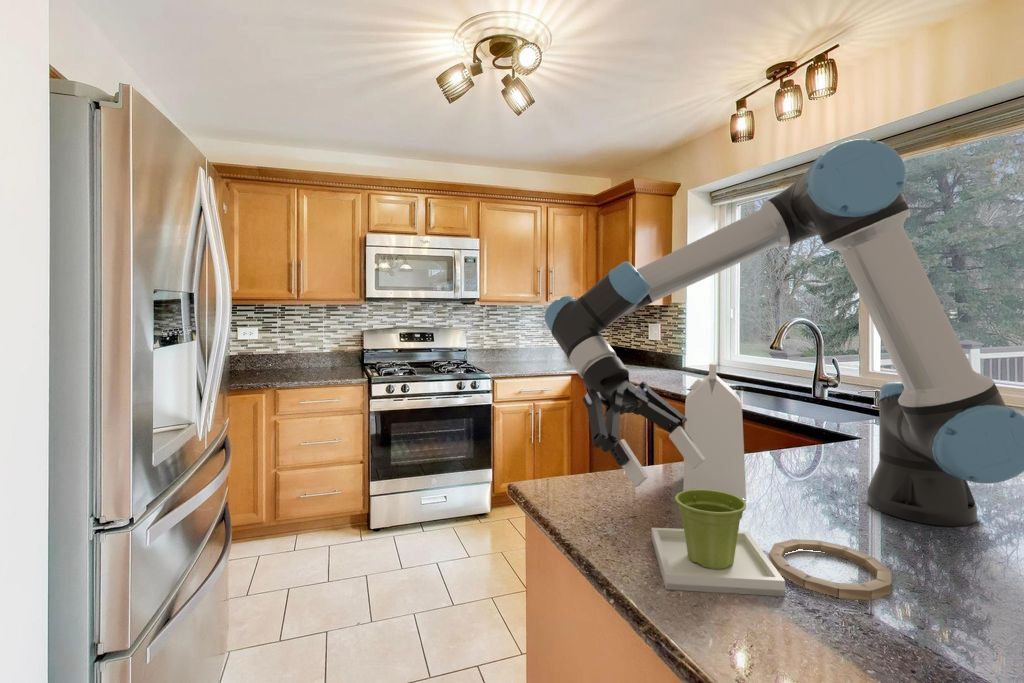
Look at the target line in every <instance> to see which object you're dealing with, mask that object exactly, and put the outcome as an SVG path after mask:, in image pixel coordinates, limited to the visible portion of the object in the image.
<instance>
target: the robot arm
mask: <svg viewBox="0 0 1024 683" xmlns="http://www.w3.org/2000/svg"><path fill="white" fill-rule="evenodd" d="M905 181H906V167H905V163H904V161H903V158H902V156H901V155H900V154H899V152H897V151H896V150H895V149H894V148H893V147H892V146H890V145H888V144H886V143H884V142H882V141H878V140H873V139H868V138H858V139H852V140H851V139H850V140H847V141H844V142H842V143H839V144H837V145H835V146H832V148H830V149H828V151H825V152H824V153H822V154H821V155H819V156H818V157H817V158H816V159H815V160H814V161H813V162H812V163H811V166H810V167H809V168H808V169H807V170H806V171H804V173H803V174H802V175H801V176H800V177H799V178H798V179H797V180H795V181H794V182H793V183H792V184H791V185H790V186H788V187H787V188H786V189H784V190H783V191H781V192H779V193H778V194H776V195H775V196H773V197H771V198H769V199H766V200H765V201H763V202H762V205H761V208H760V209H759V210H757V211H754V212H752V213H750V214H748V215H746V216H744V217H743V218H740V219H738V220H736V221H734V222H732V223H729V224H728V225H726V226H723V227H721V228H719V229H718V230H716V231H712V232H711V233H709V234H707V235H704V236H703V237H701V238H698V239H697V240H695V241H692V242H690V243H688V244H687V245H685V246H683V247H680V248H678V249H677V250H674V251H672V252H670V253H668V254H665V255H664V256H661V257H659V258H658V259H655V260H654V261H652V262H649V263H647V264H645V265H644V266H641V267H640V268H637V269H636V268H635V266H634V265H633V264H632V263H631V262H630V261H623V262H621V263H620V264H618V265H617V266H616V267H614V268H613V269H611V270H609V272H608V273H607V274H606V275H605V276H603V277H602V278H601V279H600V280H598V282H597V283H595V284H593V286H592V287H591V288H590V289H588V290H587V291H586V292H584V294H583V295H581V296H580V297H578V298H577V299H576V298H575V297H574V296H571V295H565V296H561V297H560V299H555V300H554V301H553V302H551V304H549V306H548V307H547V308H546V310H545V313H544V322H545V323H546V325H547V327H548V329H549V331H550V333H551V337H553V338H554V339H555V340H554V341H556V343H557V344H558V346H559V347H560V348H561V350H562V351H563V352H564V354H565V356H566V357H567V359H568V360H569V362H570V363H571V365H572V366H573V369H575V371H576V372H577V374H578V376H579V378H580V379H582V382H583V384H584V385H585V387H586V388H587V392H586V394H585V395H584V397H582V401H583V403H584V404H585V407H586V409H587V410H586V411H587V415H588V421H589V426H590V427H589V428H590V434H591V440H592V444H593V447H595V448H597V449H598V448H600V449H601V450H602V452H604V453H608V451H609V453H611V455H612V457H613V458H614V460H615V462H616V464H617V465H619V467H621V468H622V469H623V471H624V472H625V474H626V475H627V477H628V478H629V480H630V482H631V483H632V485H633V487H634V488H637V487H639V486H641V484H642V483H644V482H645V481H646V480H647V479H648V478H649V475H648V473H647V472H646V470H645V469H644V467H643V465H642V464H641V463H640V460H638V458H637V456H636V455H635V454H634V452H633V450H632V449H631V447H630V446H629V444H628V443H627V441H626V439H625V438H623V439H620V440H619V438H620V437H619V436H620V435H619V434H620V423H621V422H620V418H621V415H624V414H634V415H636V416H637V415H640V416H642V417H644V418H645V419H647V420H649V421H651V423H653V424H655V425H657V426H658V427H659V428H662V429H663V430H665V431H667V432H669V433H670V434H669V435H668V437H669V439H670V440H671V441H672V443H673V444H674V446H675V448H677V450H678V452H679V453H680V454H681V456H682V457H683V459H684V458H685V460H686V461H687V463H688V464H689V465H690V467H691V468H692V469H695V468H696V467H697V466H698V465H700V464H701V463H702V462H703V461H704V460H705V458H704V457H703V455H702V454H701V453H700V451H699V450H698V449H697V447H696V446H695V444H694V443H693V441H692V439H691V438H690V436H688V434H687V432H686V431H685V427H684V425H685V422H686V421H687V418H686V417H685V414H683V413H681V412H680V411H679V410H678V409H676V408H675V407H674V406H672V405H671V404H670V403H669V402H668V401H666V400H665V399H664V398H663V397H662V396H660V395H659V394H658V393H656V392H655V391H654V390H653V389H652V388H651V387H650V386H649V385H648V384H647V383H646V382H645V381H641V382H640V383H639V385H636V386H635V384H633V383H632V382H631V381H630V372H629V370H628V368H627V367H626V366H625V364H624V363H623V361H622V360H621V359H620V357H619V356H617V353H616V351H615V350H614V349H613V348H612V346H611V344H610V343H609V342H608V340H606V338H605V337H604V336H603V334H602V332H603V331H604V330H606V329H607V328H608V327H609V326H610V325H612V324H614V322H616V321H617V320H619V319H620V318H621V317H625V316H629V315H631V314H633V313H635V312H636V311H638V310H639V309H643V308H644V307H646V306H648V305H651V304H653V303H655V302H656V301H657V302H658V301H660V300H661V299H664V298H665V297H668V296H670V295H672V294H674V293H677V292H678V291H680V290H683V289H685V288H688V287H690V286H692V285H695V284H696V283H698V282H700V281H701V282H702V281H703V280H705V279H707V278H709V277H712V276H714V275H717V274H718V273H720V272H723V271H725V270H727V269H729V268H731V267H733V266H735V265H738V264H740V263H742V262H744V261H746V260H749V259H751V258H753V257H755V256H757V255H759V254H762V253H763V252H767V251H768V250H770V249H772V248H775V247H779V246H780V247H783V248H788V247H791V246H793V245H795V244H797V243H799V242H801V241H804V240H808V239H810V238H811V239H812V238H813V237H817V236H819V237H820V239H821V240H820V241H822V244H823V246H824V247H826V248H828V249H831V250H835V251H837V252H839V254H840V256H841V258H842V259H843V262H844V264H845V266H846V268H847V271H848V273H849V274H850V277H851V278H852V282H853V283H854V285H855V287H856V289H857V292H858V294H859V295H860V298H861V300H862V302H863V305H864V306H865V308H866V310H867V313H868V315H869V317H870V318H871V321H872V323H873V325H874V328H875V329H876V331H877V334H878V335H879V337H880V339H881V343H882V344H883V345H884V348H885V350H886V352H887V354H888V357H889V359H890V360H891V363H892V365H893V367H894V369H895V372H896V373H897V376H898V378H899V379H900V382H893V381H892V382H891V381H890V382H885V383H884V384H883V385H881V387H880V392H879V398H878V404H879V405H878V406H879V411H878V412H879V414H878V415H879V416H878V417H879V424H878V425H879V428H878V429H879V430H878V431H879V438H878V439H879V442H878V443H879V445H878V446H879V451H878V452H879V455H878V458H879V459H878V464H877V466H876V469H875V471H874V473H873V476H872V478H871V480H870V482H869V485H868V487H867V491H866V492H867V496H866V497H867V503H868V504H869V505H870V506H871V507H872V508H874V509H876V510H878V511H880V512H882V513H884V514H887V515H889V516H892V517H895V518H900V519H903V520H906V521H907V520H908V521H911V522H916V523H922V524H928V525H935V526H943V527H944V526H947V527H961V526H963V527H964V526H969V525H973V524H975V523H976V522H977V521H978V507H977V503H976V501H975V499H974V496H973V493H972V492H971V489H970V486H969V482H970V483H975V484H986V485H988V484H998V483H1001V482H1002V483H1003V482H1006V481H1010V480H1011V479H1014V478H1016V477H1018V476H1019V475H1021V474H1023V473H1024V415H1023V414H1022V413H1020V412H1019V411H1016V409H1013V408H1010V407H1008V406H1006V404H1005V401H1004V399H1003V397H1002V395H1001V393H1000V391H999V388H998V387H997V385H996V383H995V381H994V379H993V378H992V377H989V376H987V375H984V374H982V373H979V372H976V371H975V370H974V369H973V367H972V365H971V363H970V360H969V359H968V356H967V355H966V353H965V351H964V349H963V347H962V344H961V341H960V340H959V337H958V336H957V334H956V332H955V330H954V328H953V326H952V324H951V322H950V320H949V318H948V315H947V313H946V312H945V309H944V307H943V305H942V304H941V302H940V299H939V298H938V295H937V293H936V291H935V288H933V284H932V283H931V281H930V279H929V277H928V274H927V272H926V270H925V268H924V267H923V264H922V262H921V260H920V258H919V256H918V255H917V252H916V251H915V248H914V246H913V244H912V242H911V240H910V238H909V235H908V233H907V232H906V230H905V228H904V223H905V222H906V220H907V217H908V216H909V214H910V212H911V210H910V208H909V206H908V204H907V202H906V199H905V197H904V196H903V194H902V189H903V187H904V184H905ZM639 402H640V403H639ZM603 406H604V407H605V409H604V408H603Z"/></svg>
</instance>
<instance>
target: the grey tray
mask: <svg viewBox="0 0 1024 683" xmlns="http://www.w3.org/2000/svg"><path fill="white" fill-rule="evenodd" d="M651 542H652V543H651V544H652V546H653V549H654V552H655V553H654V554H655V556H656V560H657V564H658V566H659V571H660V574H661V578H662V581H663V584H664V587H665V588H664V589H665V590H669V591H670V590H671V591H686V592H687V591H688V592H701V593H702V592H703V593H704V592H705V593H720V594H721V593H722V594H723V593H725V594H738V595H752V596H753V595H755V596H756V595H758V596H774V597H786V579H785V578H784V577H782V576H781V575H780V573H779V572H778V571H777V569H776V568H775V567H774V565H773V564H772V563H771V561H770V560H769V556H767V555H766V554H765V552H764V550H762V548H761V547H760V545H759V544H758V543H757V541H756V540H755V539H754V537H753V536H752V535H751V534H750V532H749V531H748V530H746V531H744V530H743V531H742V530H738V535H737V542H736V549H735V556H734V563H733V565H729V566H728V567H727V568H723V569H713V568H706V567H703V566H702V565H701V564H699V563H697V562H692V561H691V560H690V559H689V557H688V552H687V546H686V539H685V533H684V528H671V527H670V528H669V527H651Z"/></svg>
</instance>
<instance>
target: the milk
mask: <svg viewBox="0 0 1024 683" xmlns="http://www.w3.org/2000/svg"><path fill="white" fill-rule="evenodd" d="M717 366H718V365H717V361H709V366H708V367H709V368H708V375H706V376H705V377H704V378H703V379H701V378H700V377H699V378H697V380H695V381H694V382H693V383H692V384H691V385H690V387H689V388H690V389H691V390H690V391H689V392H688V393H687V394H686V398H685V404H684V409H685V410H684V416H685V417H686V418H687V421H686V422H685V423H684V430H685V431H686V432H687V434H688V436H690V438H691V439H692V441H693V443H694V444H695V446H696V447H697V449H698V450H699V451H700V453H701V454H702V455H703V457H704V458H705V460H704V461H703V462H702V463H701V464H700V465H698V466H697V467H696V468H695V469H692V468H691V467H690V465H689V464H688V463H687V461H686V460H685V458H684V457H683V485H682V486H683V490H682V491H686V490H694V489H702V490H714V491H721V492H725V493H729V494H732V495H735V496H737V497H739V498H741V499H742V498H744V499H746V500H747V490H746V489H747V488H746V487H747V486H746V484H747V483H746V467H745V466H746V464H745V443H744V440H745V439H744V424H743V422H744V421H743V406H742V401H741V397H740V396H739V394H737V392H735V390H734V389H732V387H730V386H729V385H728V384H727V383H726V382H725V381H724V380H723V379H722V378H721V377H720V376H718V375H717V370H718V368H717Z"/></svg>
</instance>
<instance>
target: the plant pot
mask: <svg viewBox="0 0 1024 683" xmlns="http://www.w3.org/2000/svg"><path fill="white" fill-rule="evenodd" d="M674 500H675V502H676V504H678V510H679V513H680V515H681V518H682V519H681V521H682V524H683V525H682V526H683V529H684V533H685V539H686V546H687V552H688V557H689V559H690V560H691V561H692V562H697V563H699V564H701V565H702V566H703V567H706V568H713V569H723V568H727V567H728V566H729V565H733V563H734V556H735V549H736V542H737V535H738V531H739V526H740V520H741V519H742V518H743V513H744V511H745V510H746V509H747V503H746V501H744V500H743V499H741V498H739V497H737V496H735V495H732V494H729V493H725V492H721V491H714V490H702V489H694V490H686V491H683V490H682V491H679V492H678V493H677V494H676V495H675V496H674Z"/></svg>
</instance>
